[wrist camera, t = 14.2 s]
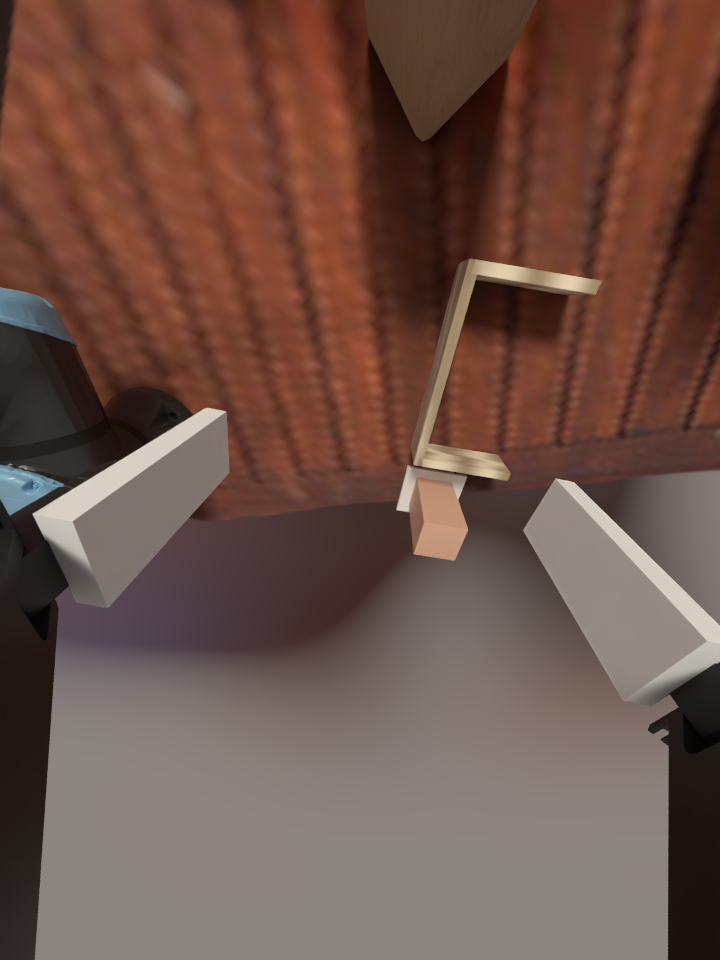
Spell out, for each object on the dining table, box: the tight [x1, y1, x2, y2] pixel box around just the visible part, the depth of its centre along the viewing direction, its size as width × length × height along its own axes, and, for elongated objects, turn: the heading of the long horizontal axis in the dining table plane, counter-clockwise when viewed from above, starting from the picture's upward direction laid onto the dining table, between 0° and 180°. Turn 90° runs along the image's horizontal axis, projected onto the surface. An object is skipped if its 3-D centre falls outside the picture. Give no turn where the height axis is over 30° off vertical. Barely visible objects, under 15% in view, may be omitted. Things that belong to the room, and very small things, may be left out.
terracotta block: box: [409, 477, 468, 561], centre depth 47 cm, size 6×6×12 cm
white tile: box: [397, 465, 467, 512], centre depth 53 cm, size 10×9×1 cm
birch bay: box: [411, 258, 602, 481], centre depth 40 cm, size 14×24×6 cm, turn 172°
